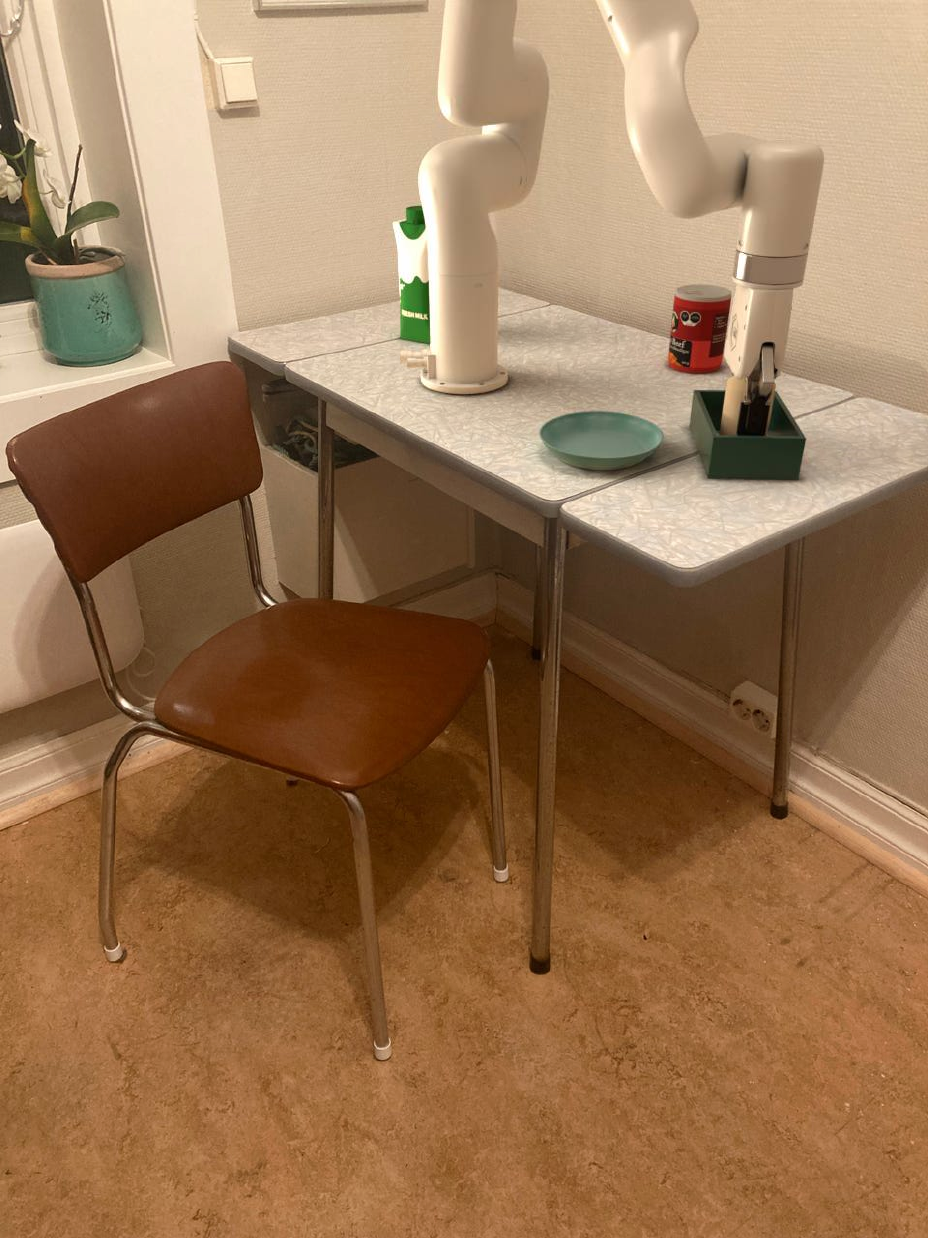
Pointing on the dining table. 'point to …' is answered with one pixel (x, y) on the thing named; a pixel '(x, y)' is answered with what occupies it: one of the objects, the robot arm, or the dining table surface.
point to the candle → (738, 404)
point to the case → (746, 442)
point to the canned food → (699, 328)
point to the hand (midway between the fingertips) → (745, 423)
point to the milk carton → (413, 276)
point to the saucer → (601, 439)
